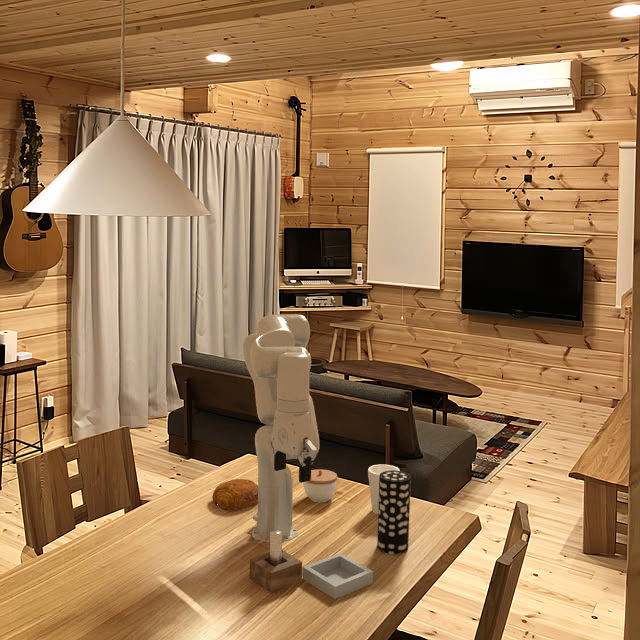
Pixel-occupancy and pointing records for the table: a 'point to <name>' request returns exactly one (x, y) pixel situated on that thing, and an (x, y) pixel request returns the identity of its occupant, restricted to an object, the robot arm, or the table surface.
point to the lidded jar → (321, 485)
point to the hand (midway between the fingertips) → (292, 475)
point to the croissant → (235, 494)
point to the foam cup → (377, 483)
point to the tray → (337, 575)
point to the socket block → (275, 572)
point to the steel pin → (275, 547)
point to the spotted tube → (393, 512)
